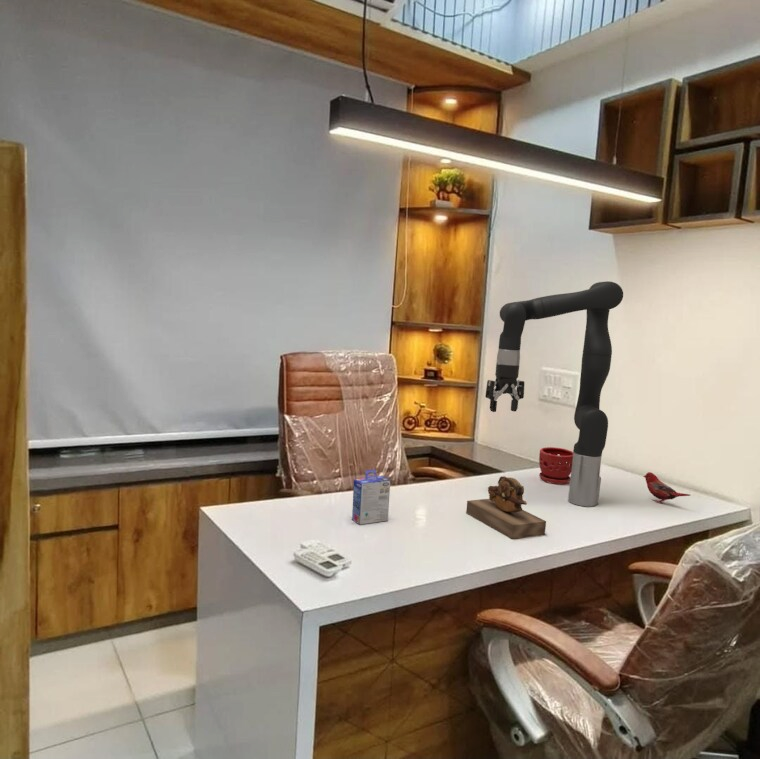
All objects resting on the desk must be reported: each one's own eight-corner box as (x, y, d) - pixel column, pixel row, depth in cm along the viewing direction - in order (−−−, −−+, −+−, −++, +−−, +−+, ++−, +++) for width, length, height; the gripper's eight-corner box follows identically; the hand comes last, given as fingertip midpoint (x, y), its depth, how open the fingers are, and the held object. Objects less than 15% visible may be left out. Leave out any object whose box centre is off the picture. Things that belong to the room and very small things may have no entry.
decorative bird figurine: (643, 496, 218) (646, 470, 217) (690, 512, 204) (694, 483, 203) (638, 497, 217) (641, 470, 215) (686, 513, 202) (690, 484, 201)
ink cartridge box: (379, 515, 179) (382, 467, 177) (389, 521, 174) (392, 472, 173) (350, 519, 174) (353, 470, 172) (359, 525, 169) (363, 475, 167)
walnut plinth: (497, 509, 192) (498, 497, 191) (544, 534, 172) (546, 521, 172) (466, 513, 186) (467, 500, 186) (511, 539, 167) (513, 525, 166)
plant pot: (530, 476, 236) (533, 446, 235) (560, 476, 239) (563, 447, 238) (547, 486, 224) (550, 454, 222) (578, 486, 227) (582, 455, 225)
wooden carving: (481, 502, 185) (484, 471, 184) (493, 501, 187) (496, 470, 186) (517, 520, 170) (521, 486, 169) (529, 519, 173) (533, 485, 171)
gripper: (517, 362, 205) (512, 409, 207) (483, 361, 198) (479, 409, 200) (532, 364, 198) (527, 413, 200) (497, 364, 192) (493, 413, 194)
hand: (503, 411), depth 200 cm, fingers open, 8 cm apart
